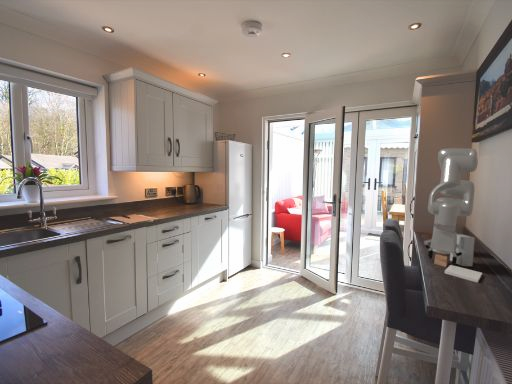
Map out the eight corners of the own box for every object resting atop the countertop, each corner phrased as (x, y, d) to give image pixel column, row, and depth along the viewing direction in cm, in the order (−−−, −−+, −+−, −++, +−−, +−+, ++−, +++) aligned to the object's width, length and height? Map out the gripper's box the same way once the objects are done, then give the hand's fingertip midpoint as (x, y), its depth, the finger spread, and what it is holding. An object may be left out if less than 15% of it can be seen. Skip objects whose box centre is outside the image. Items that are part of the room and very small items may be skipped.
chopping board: (450, 267, 130) (450, 264, 130) (481, 275, 121) (482, 272, 121) (444, 273, 122) (444, 270, 122) (477, 282, 113) (478, 279, 113)
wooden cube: (436, 261, 137) (437, 252, 136) (448, 264, 133) (449, 255, 133) (434, 263, 134) (435, 254, 133) (445, 267, 130) (447, 257, 129)
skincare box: (472, 266, 132) (476, 237, 130) (460, 266, 132) (464, 237, 130) (459, 260, 140) (462, 233, 139) (448, 260, 140) (451, 232, 138)
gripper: (423, 225, 135) (420, 257, 137) (466, 233, 123) (461, 268, 124) (428, 223, 140) (424, 254, 142) (469, 230, 128) (464, 264, 130)
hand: (441, 261), depth 133 cm, fingers open, 9 cm apart
